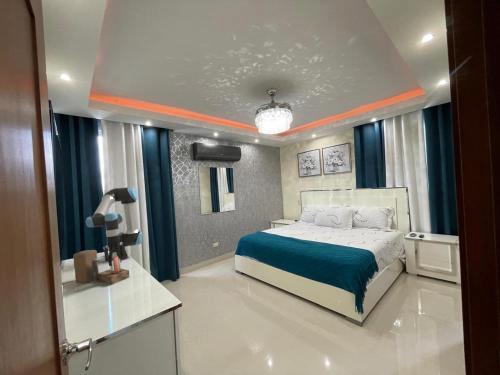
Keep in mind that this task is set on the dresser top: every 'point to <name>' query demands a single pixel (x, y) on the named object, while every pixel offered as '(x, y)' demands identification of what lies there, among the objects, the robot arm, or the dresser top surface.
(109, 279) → the socket station
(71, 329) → the dresser top surface
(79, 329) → the dresser top surface
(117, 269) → the peg
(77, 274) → the wooden block
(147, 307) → the dresser top surface
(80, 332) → the dresser top surface
